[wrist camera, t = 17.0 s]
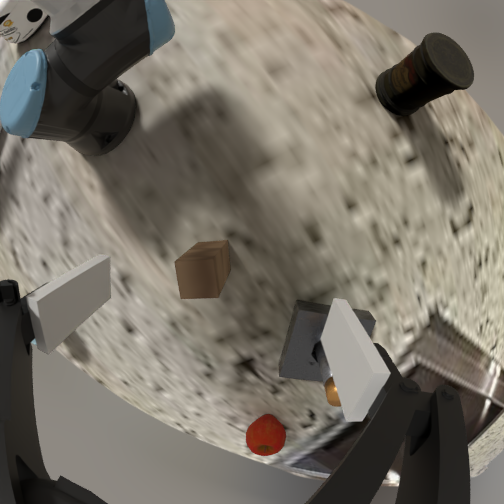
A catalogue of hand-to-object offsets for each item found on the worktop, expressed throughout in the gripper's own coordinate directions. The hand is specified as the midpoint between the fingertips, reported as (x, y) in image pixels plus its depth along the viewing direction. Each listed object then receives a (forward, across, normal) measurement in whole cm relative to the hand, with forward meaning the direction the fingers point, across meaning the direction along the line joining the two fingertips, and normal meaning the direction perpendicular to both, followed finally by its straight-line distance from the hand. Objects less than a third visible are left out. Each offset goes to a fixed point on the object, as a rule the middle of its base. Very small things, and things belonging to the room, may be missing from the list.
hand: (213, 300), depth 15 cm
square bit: (+30, -4, -7) cm, 31 cm away
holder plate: (+29, +18, -19) cm, 39 cm away
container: (+30, +22, +28) cm, 47 cm away
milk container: (+33, -71, +50) cm, 93 cm away
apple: (+28, +12, -42) cm, 52 cm away
